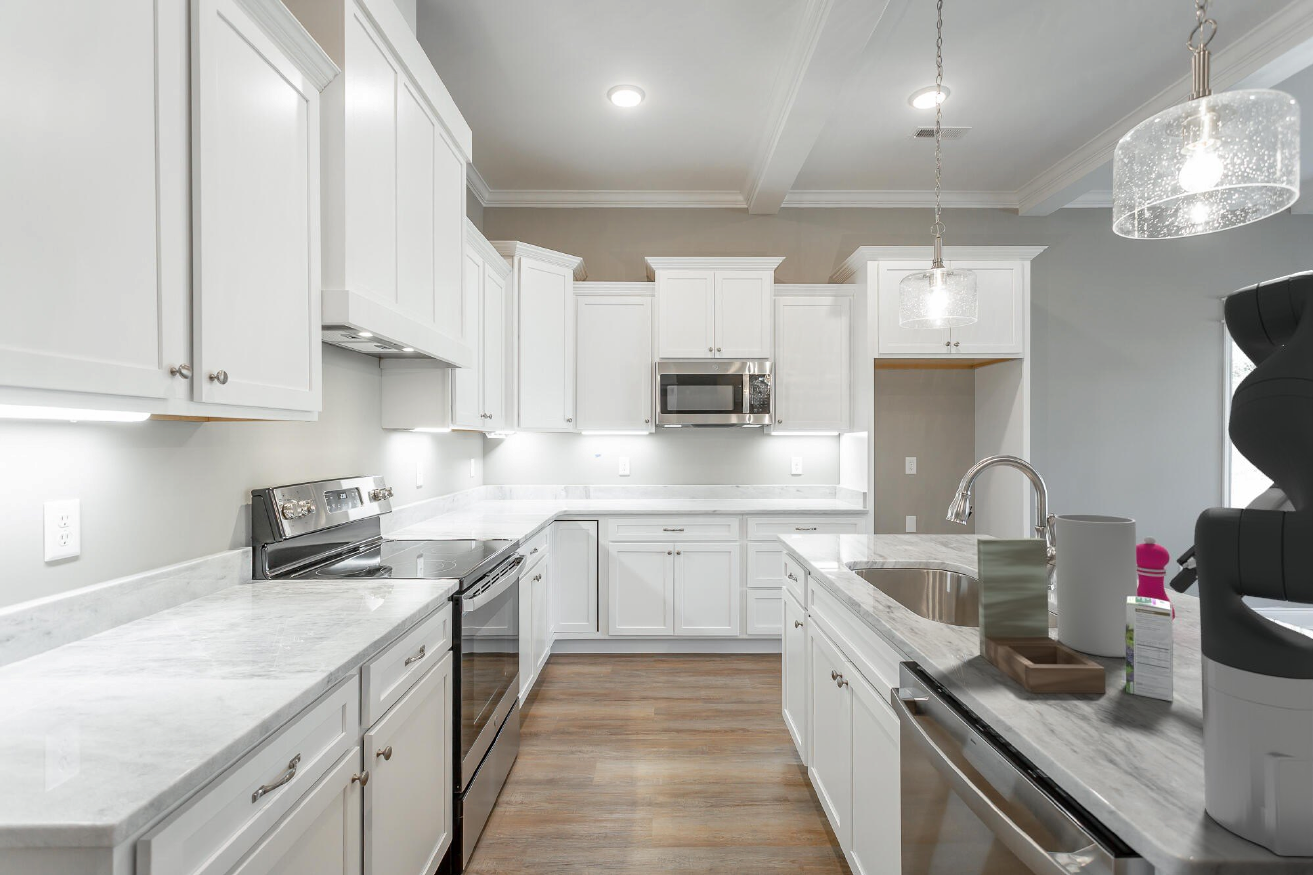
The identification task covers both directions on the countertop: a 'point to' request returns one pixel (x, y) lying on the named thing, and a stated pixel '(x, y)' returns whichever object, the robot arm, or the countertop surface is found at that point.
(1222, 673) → the robot arm
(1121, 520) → the cylinder vase
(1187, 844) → the countertop surface
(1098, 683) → the wooden tray stand
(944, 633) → the countertop surface
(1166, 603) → the syrup box
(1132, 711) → the countertop surface
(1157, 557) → the pepper mill
